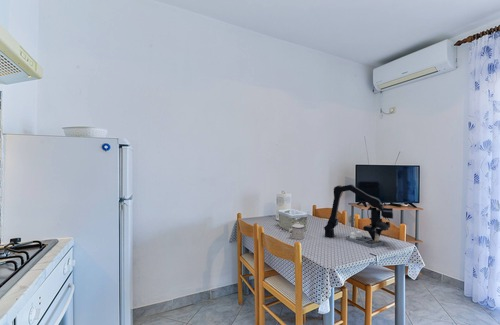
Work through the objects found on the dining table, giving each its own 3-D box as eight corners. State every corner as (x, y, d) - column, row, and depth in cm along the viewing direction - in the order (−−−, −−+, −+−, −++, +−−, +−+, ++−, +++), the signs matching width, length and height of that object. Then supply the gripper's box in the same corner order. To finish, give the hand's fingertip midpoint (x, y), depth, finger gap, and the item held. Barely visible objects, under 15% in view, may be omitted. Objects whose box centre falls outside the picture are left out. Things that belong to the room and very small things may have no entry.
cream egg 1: (353, 241, 170) (353, 233, 170) (348, 239, 174) (348, 231, 174) (357, 240, 172) (357, 232, 172) (352, 238, 176) (352, 230, 176)
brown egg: (376, 243, 162) (376, 234, 162) (370, 241, 166) (370, 232, 166) (380, 242, 164) (380, 233, 164) (374, 240, 168) (374, 231, 168)
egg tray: (371, 249, 157) (371, 244, 157) (345, 240, 174) (345, 236, 174) (383, 245, 163) (383, 241, 163) (357, 237, 181) (357, 233, 181)
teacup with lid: (300, 235, 187) (300, 220, 187) (306, 239, 179) (306, 223, 179) (286, 237, 184) (286, 221, 184) (291, 240, 175) (291, 224, 175)
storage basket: (277, 226, 215) (277, 209, 215) (293, 224, 221) (293, 208, 221) (291, 233, 193) (291, 215, 193) (308, 231, 199) (308, 213, 198)
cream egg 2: (359, 239, 173) (359, 231, 173) (354, 238, 177) (354, 230, 177) (363, 238, 175) (363, 231, 175) (358, 237, 179) (358, 229, 179)
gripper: (378, 221, 153) (378, 245, 153) (395, 217, 162) (395, 240, 162) (362, 217, 163) (362, 240, 163) (379, 214, 172) (379, 236, 172)
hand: (375, 239), depth 165 cm, fingers closed on brown egg, 4 cm apart
